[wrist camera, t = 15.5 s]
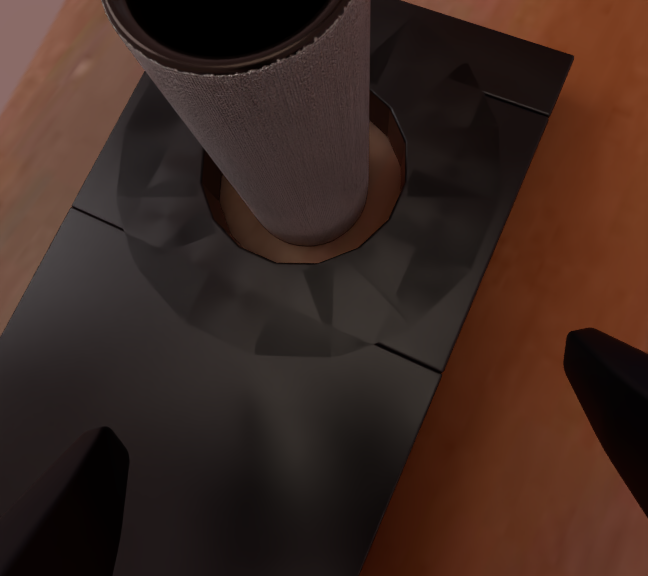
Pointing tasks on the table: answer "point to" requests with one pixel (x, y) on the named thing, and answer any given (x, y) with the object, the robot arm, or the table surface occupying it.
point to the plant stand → (270, 317)
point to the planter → (267, 99)
